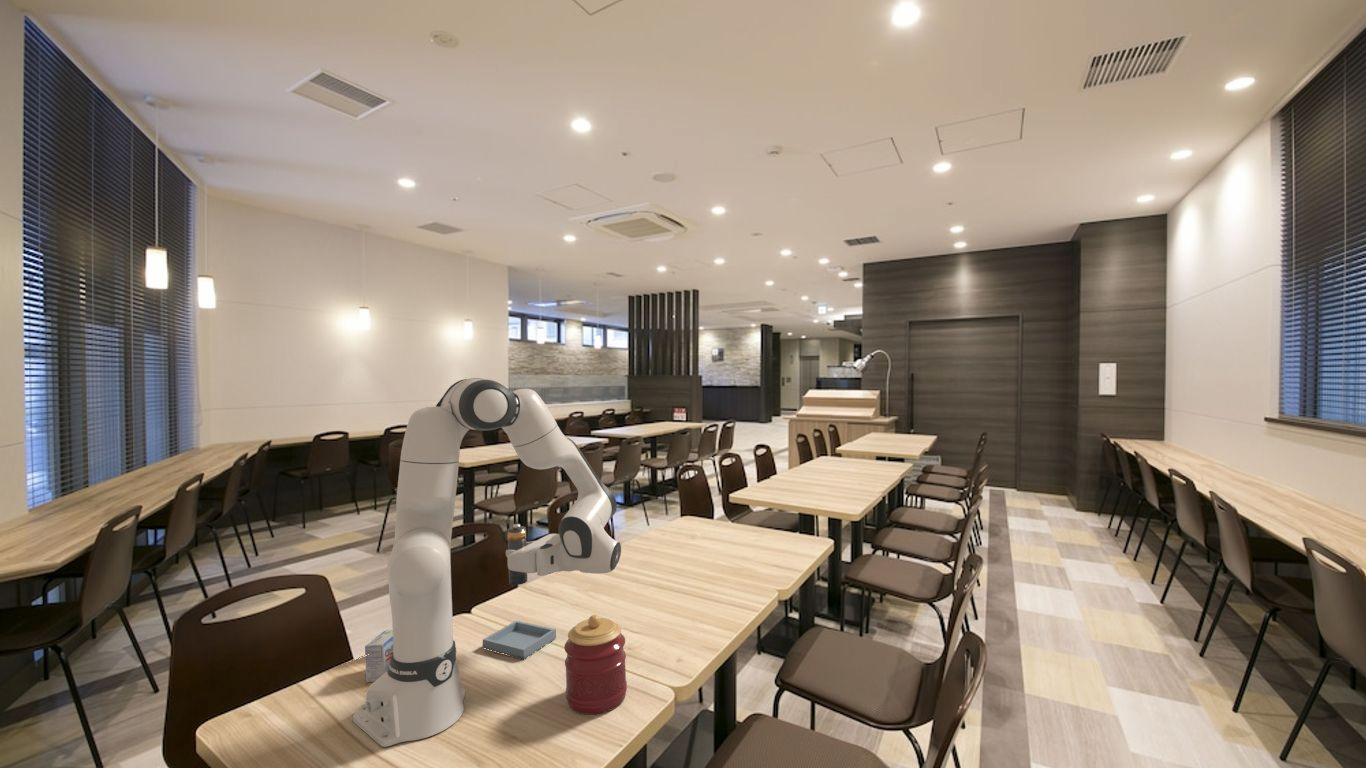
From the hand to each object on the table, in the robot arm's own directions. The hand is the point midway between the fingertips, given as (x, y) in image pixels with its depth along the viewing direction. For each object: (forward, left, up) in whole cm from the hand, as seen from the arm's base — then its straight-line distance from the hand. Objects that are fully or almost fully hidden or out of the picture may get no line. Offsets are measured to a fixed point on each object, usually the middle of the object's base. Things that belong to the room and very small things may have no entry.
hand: (514, 549), depth 140 cm
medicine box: (-19, -24, -25) cm, 40 cm away
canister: (+34, -12, -25) cm, 44 cm away
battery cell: (+1, 0, -8) cm, 9 cm away
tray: (+1, 0, -25) cm, 25 cm away
